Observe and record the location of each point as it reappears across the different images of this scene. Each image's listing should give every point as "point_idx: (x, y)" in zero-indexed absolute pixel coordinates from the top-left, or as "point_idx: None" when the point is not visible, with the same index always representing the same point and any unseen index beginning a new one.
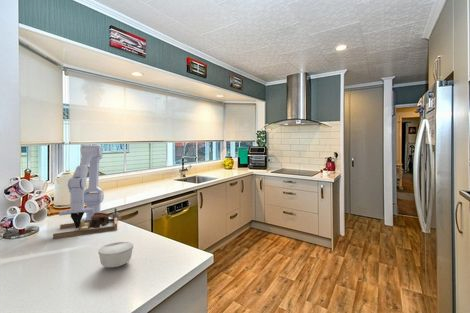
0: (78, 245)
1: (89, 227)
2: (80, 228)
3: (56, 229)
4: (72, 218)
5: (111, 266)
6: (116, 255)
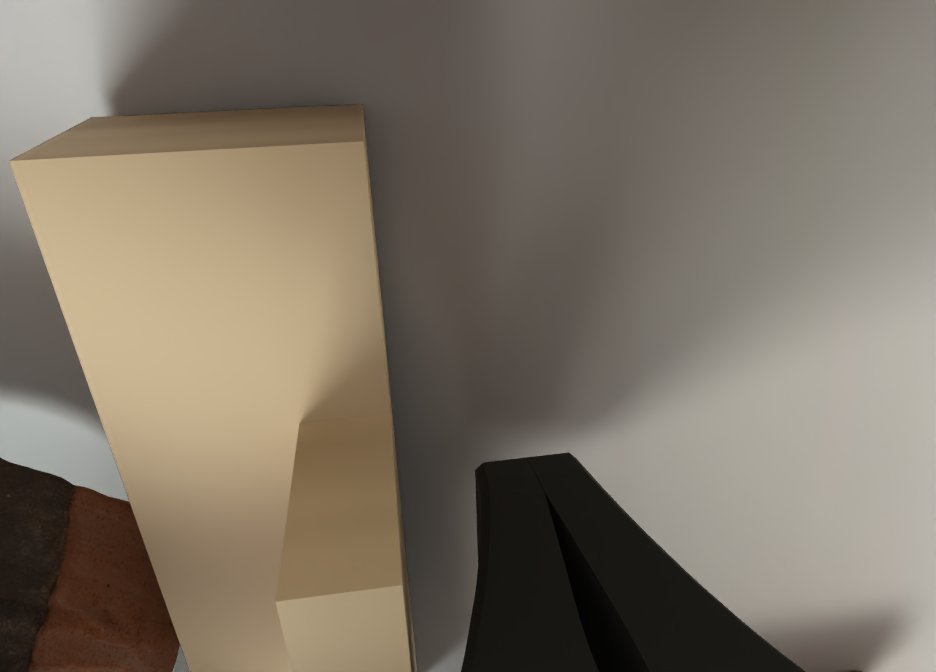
0: None
1: None
2: (361, 170)
3: (922, 659)
4: None
5: None
6: None
